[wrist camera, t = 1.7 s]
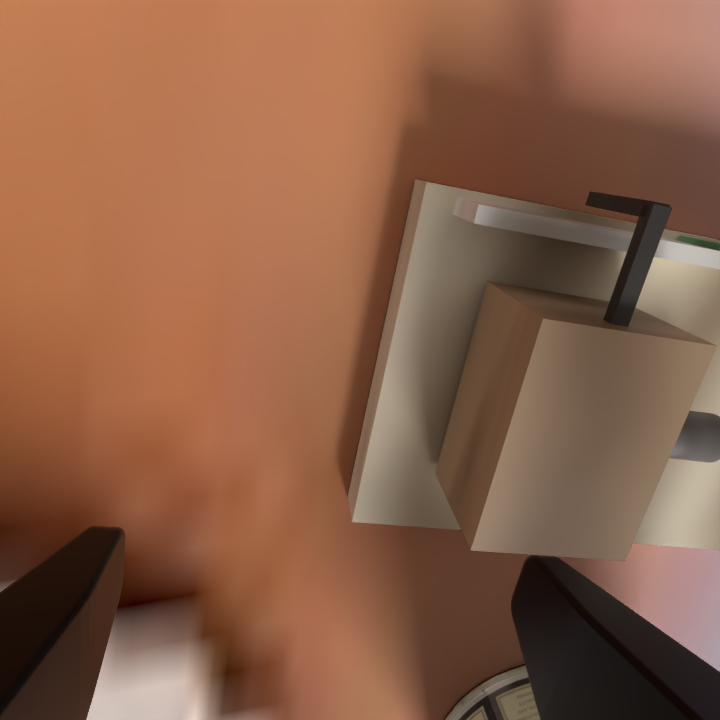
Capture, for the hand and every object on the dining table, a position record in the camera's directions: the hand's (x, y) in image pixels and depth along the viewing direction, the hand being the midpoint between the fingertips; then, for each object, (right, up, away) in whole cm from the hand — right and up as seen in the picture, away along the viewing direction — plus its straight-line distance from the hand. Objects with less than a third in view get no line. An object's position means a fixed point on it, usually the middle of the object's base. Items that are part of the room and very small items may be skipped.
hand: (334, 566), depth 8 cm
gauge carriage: (+8, +3, +11) cm, 14 cm away
